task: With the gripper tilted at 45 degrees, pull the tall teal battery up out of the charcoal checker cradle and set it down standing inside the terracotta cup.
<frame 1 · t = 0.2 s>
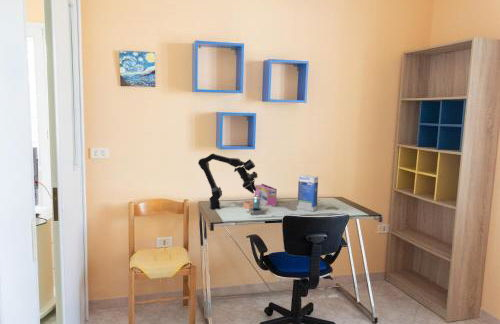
hand: (254, 192, 288), 14 cm above the table, tool tilted 35°, fingers open, 9 cm apart
checker cradle: (256, 214, 282), on the table
battery: (256, 212, 282), point 1 cm above the table, touching checker cradle
gum box: (265, 203, 317), on the table
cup: (249, 208, 297), on the table
string lights box: (306, 209, 300), on the table
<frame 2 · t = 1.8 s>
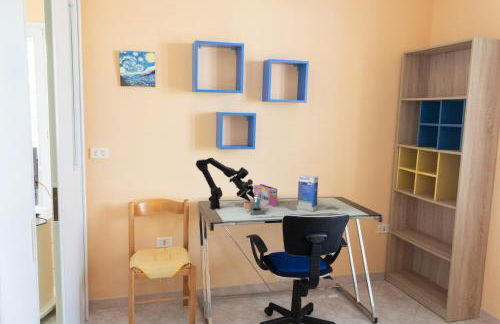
hand: (252, 199, 282), 10 cm above the table, tool tilted 45°, fingers open, 9 cm apart
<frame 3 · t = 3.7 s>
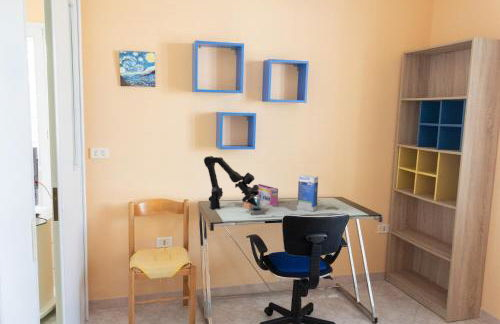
hand: (258, 205, 280), 7 cm above the table, tool tilted 45°, fingers closed on battery, 4 cm apart
battery: (256, 212, 282), point 1 cm above the table, touching checker cradle, gripper
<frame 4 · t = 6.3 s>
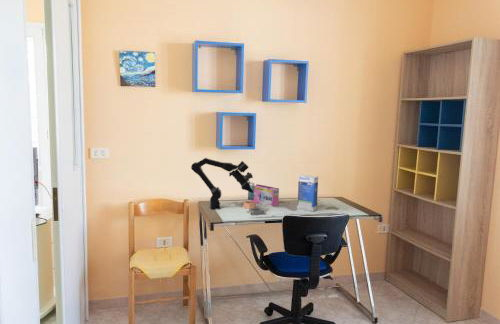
hand: (252, 191, 294), 13 cm above the table, tool tilted 45°, fingers closed on battery, 4 cm apart
battery: (250, 199, 294), point 8 cm above the table, touching gripper
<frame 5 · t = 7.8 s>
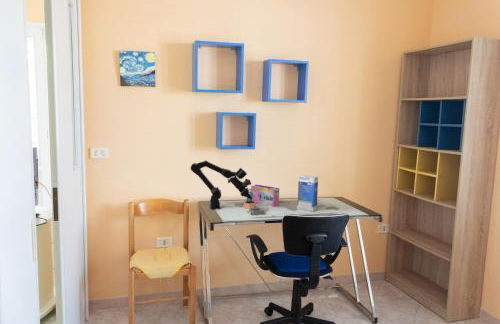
hand: (251, 198, 296), 8 cm above the table, tool tilted 45°, fingers closed on battery, 4 cm apart
battery: (249, 205, 297), point 2 cm above the table, touching gripper
when the fingers open (8 cm above the table, at t = 9.0 s): battery drops 1 cm, resting on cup.
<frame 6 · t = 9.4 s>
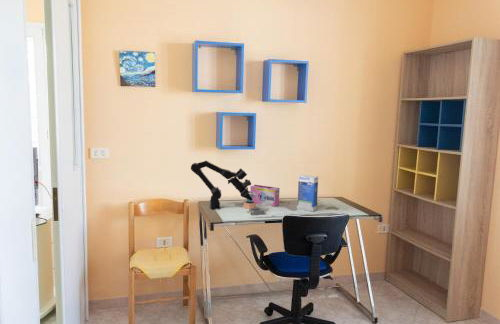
hand: (251, 198, 296), 8 cm above the table, tool tilted 45°, fingers open, 9 cm apart
battery: (249, 207, 297), point 1 cm above the table, touching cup
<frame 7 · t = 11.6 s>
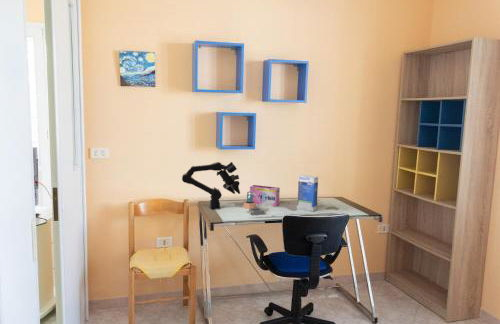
hand: (237, 193, 297), 11 cm above the table, tool tilted 35°, fingers open, 9 cm apart
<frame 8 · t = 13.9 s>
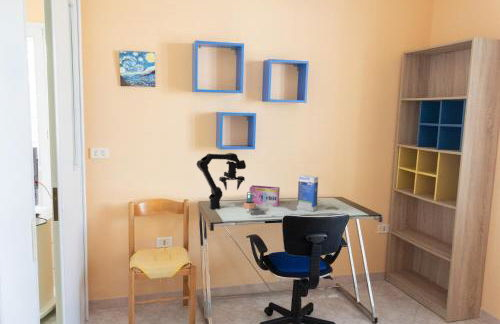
hand: (231, 189, 301), 13 cm above the table, tool pointing down, fingers open, 9 cm apart
at the end: battery 0.0 cm off-centre on the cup, point 0.6 cm above the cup's base; battery tilted 0°; the gripper is holding nothing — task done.
